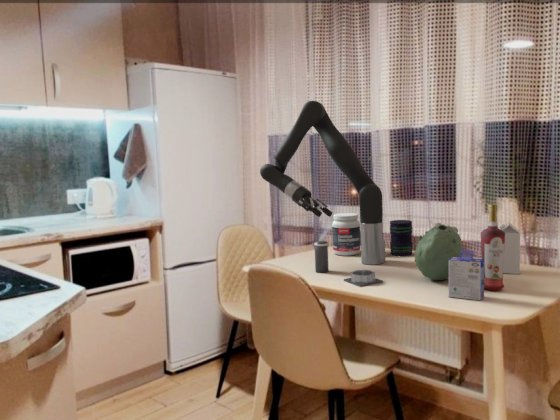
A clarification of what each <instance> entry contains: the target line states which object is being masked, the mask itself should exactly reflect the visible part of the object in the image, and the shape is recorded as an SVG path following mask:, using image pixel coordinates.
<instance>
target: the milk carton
mask: <svg viewBox="0 0 560 420" xmlns="http://www.w3.org/2000/svg"><path fill="white" fill-rule="evenodd" d="M498 229H501V230H502V231H504V232H505V248H504V262H503V274H514V275H520V274H521V271H520V270H521V232H520V229H518V228H517V227H516V226H514V225H513V224H512V223H510V219H508V223H507V224H505V223H503V224H501V225H500V226H499V227H498Z"/></svg>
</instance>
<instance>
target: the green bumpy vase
mask: <svg viewBox="0 0 560 420" xmlns="http://www.w3.org/2000/svg"><path fill="white" fill-rule="evenodd" d="M458 232H459V229H458V227H456V226H450V225H445V224H442V223H441V222H437V223H434V226H433V227H431V228H430V229H429V230H426V231H425V233H424V234H423V235H419V236H418V238H417V241H418V242H417V244H416V246H415V252H414V262H415V265H416V267H417V269H418V270H419V271H420V273H421V274H422V275H423V276H424V277H426V278H428V279H430V280H432V281H444V280H449V260H450V259H451V258H452V257H459V258H460V255H461V250H462V251H464V250H463V246H462V237H461V236H460V234H459V233H458Z"/></svg>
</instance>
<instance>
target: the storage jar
mask: <svg viewBox="0 0 560 420" xmlns="http://www.w3.org/2000/svg"><path fill="white" fill-rule="evenodd" d="M389 224H390V225H389V234H390V243H389V246H390V247H389V249H390V255H391V256H393V257H399V256H400V257H410V256H413V249H414V248H413V247H414V246H413V240H412V238H413V235H412V234H413V221H412V220H408V219H396V220H390V221H389Z"/></svg>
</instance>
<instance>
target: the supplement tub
mask: <svg viewBox="0 0 560 420" xmlns="http://www.w3.org/2000/svg"><path fill="white" fill-rule="evenodd" d="M358 219H359V214H358V213H353V212H341V213H335V214H333V221H332V224H331V230H332V232H331V233H332V235H331V236H332V252H333V253H334V255H337V256H343V257H348V256H349V257H350V256H356V255H359V254H361V228H360V220H358Z"/></svg>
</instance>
